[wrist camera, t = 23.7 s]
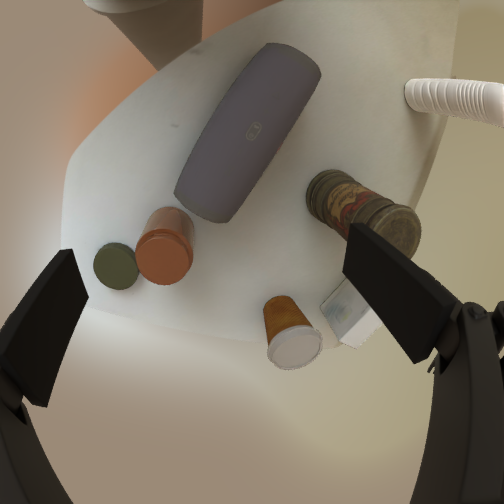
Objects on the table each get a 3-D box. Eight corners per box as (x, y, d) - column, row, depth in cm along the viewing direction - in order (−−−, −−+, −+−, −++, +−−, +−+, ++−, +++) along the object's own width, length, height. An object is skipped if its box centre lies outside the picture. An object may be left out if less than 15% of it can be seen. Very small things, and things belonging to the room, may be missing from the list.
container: (362, 191, 43) (433, 233, 28) (330, 230, 46) (389, 288, 30) (329, 157, 40) (403, 187, 24) (294, 200, 42) (349, 253, 26)
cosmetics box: (352, 268, 51) (379, 299, 42) (369, 281, 53) (395, 311, 44) (317, 306, 54) (338, 342, 44) (336, 316, 56) (357, 350, 47)
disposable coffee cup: (249, 325, 52) (262, 372, 42) (262, 286, 49) (279, 332, 38) (293, 327, 55) (312, 370, 45) (309, 290, 51) (334, 332, 41)
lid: (144, 282, 44) (142, 288, 42) (103, 285, 43) (100, 291, 41) (135, 240, 40) (132, 245, 39) (91, 244, 39) (87, 249, 37)
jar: (142, 209, 38) (127, 237, 29) (191, 204, 39) (189, 230, 31) (150, 254, 42) (139, 290, 33) (196, 249, 43) (196, 285, 34)
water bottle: (398, 82, 35) (520, 91, 13) (420, 76, 34) (533, 85, 12) (413, 126, 39) (528, 158, 17) (433, 117, 38) (541, 145, 17)
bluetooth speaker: (228, 209, 41) (237, 236, 32) (173, 182, 37) (165, 202, 29) (307, 85, 34) (339, 77, 25) (254, 51, 30) (272, 30, 21)
